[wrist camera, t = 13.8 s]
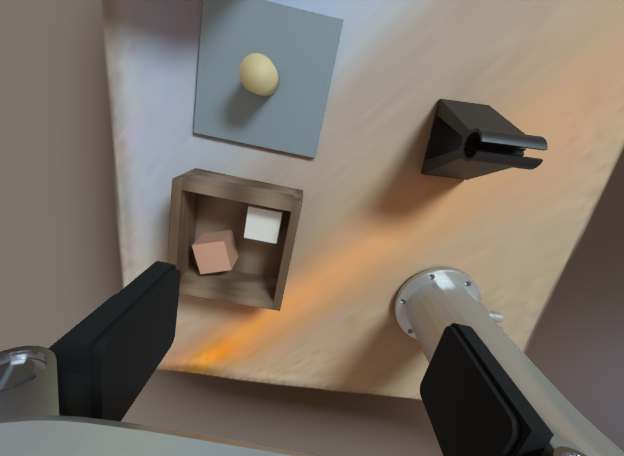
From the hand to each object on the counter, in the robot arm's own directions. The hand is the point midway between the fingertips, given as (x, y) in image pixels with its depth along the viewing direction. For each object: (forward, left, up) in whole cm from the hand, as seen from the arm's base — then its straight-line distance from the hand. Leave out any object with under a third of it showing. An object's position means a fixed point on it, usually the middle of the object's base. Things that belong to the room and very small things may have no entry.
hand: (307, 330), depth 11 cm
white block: (+4, +6, -30) cm, 31 cm away
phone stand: (-17, -8, -31) cm, 36 cm away
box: (+7, +9, -31) cm, 33 cm away
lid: (+7, -10, -31) cm, 34 cm away
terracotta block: (+10, +12, -30) cm, 33 cm away
